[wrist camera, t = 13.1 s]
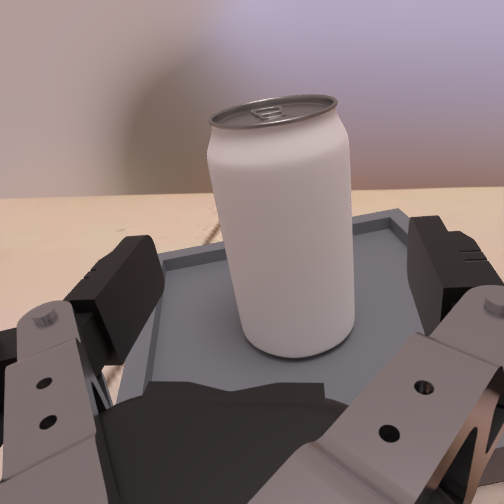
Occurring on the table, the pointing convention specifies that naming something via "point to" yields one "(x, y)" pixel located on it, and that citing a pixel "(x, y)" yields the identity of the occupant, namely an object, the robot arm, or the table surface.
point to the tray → (266, 365)
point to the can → (286, 221)
